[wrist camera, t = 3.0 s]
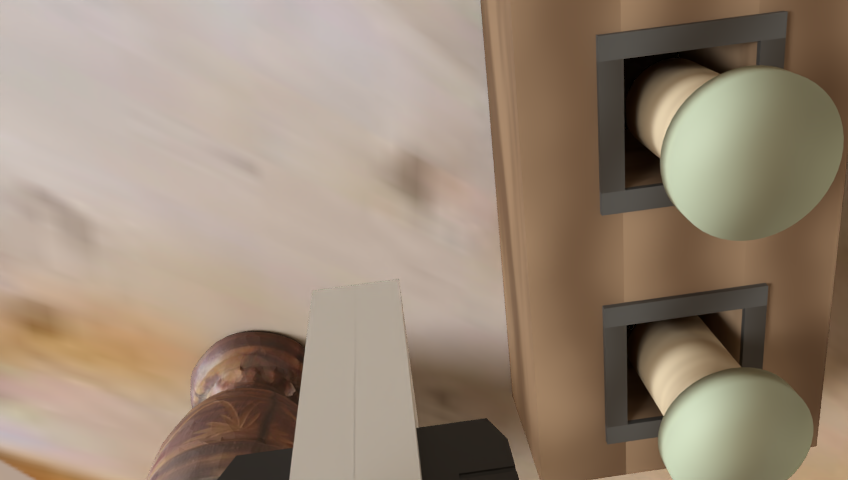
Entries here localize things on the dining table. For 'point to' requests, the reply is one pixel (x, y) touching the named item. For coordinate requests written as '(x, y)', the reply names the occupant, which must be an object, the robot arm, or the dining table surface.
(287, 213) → the dining table surface
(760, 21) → the socket block
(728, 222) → the peg
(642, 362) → the peg
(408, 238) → the dining table surface
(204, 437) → the mortar and pestle
